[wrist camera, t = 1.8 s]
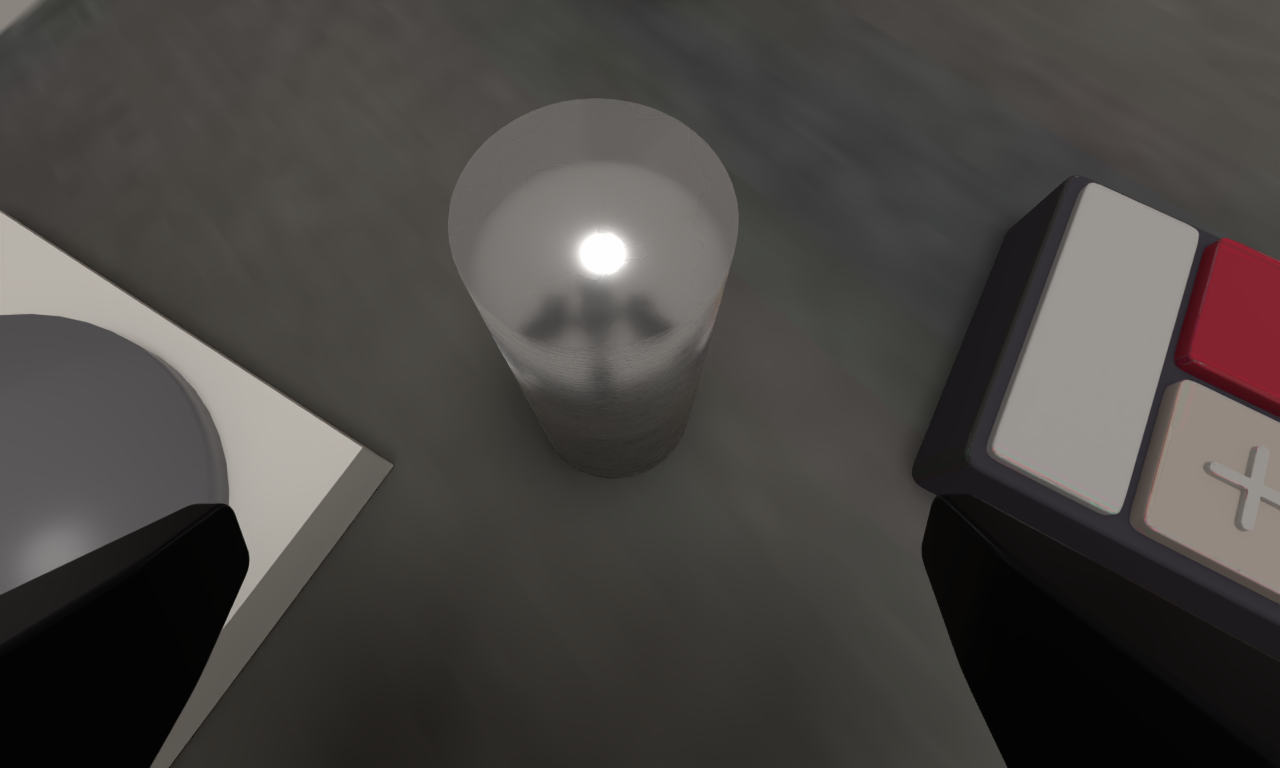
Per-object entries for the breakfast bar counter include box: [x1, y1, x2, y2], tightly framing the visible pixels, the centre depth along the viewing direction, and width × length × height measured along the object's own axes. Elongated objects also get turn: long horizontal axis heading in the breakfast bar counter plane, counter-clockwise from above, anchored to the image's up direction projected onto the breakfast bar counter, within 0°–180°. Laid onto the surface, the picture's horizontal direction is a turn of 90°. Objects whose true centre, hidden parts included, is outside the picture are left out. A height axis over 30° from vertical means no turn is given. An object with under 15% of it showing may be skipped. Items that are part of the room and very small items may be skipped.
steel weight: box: [448, 98, 739, 478], centre depth 16 cm, size 5×5×11 cm
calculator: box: [912, 175, 1280, 661], centre depth 20 cm, size 11×4×15 cm
